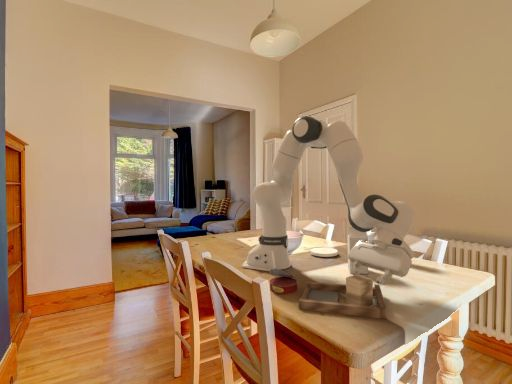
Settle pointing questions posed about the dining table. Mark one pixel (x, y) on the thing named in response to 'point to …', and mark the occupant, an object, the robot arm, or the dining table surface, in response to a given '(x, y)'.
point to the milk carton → (352, 239)
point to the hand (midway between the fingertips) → (366, 278)
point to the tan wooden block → (359, 290)
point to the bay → (327, 301)
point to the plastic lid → (324, 252)
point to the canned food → (282, 282)
